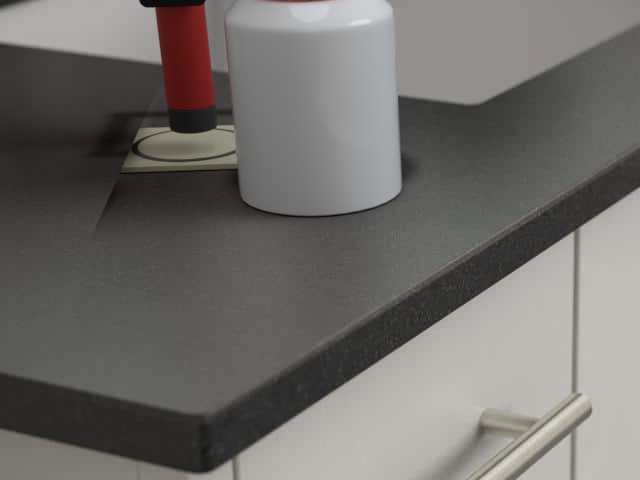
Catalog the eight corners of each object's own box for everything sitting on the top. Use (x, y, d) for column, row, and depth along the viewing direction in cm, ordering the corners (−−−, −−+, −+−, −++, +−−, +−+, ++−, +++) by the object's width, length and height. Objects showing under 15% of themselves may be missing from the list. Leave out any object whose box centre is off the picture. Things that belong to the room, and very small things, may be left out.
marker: (167, 135, 82) (136, -119, 76) (172, 121, 84) (142, -126, 78) (215, 133, 82) (188, -120, 76) (219, 119, 84) (192, -128, 78)
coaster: (103, 173, 81) (102, 166, 81) (122, 134, 87) (121, 127, 87) (265, 168, 82) (264, 160, 82) (272, 129, 88) (272, 122, 88)
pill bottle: (221, 178, 80) (198, -55, 75) (370, 158, 83) (358, -69, 78) (265, 226, 74) (244, -25, 69) (425, 202, 77) (416, -42, 71)
